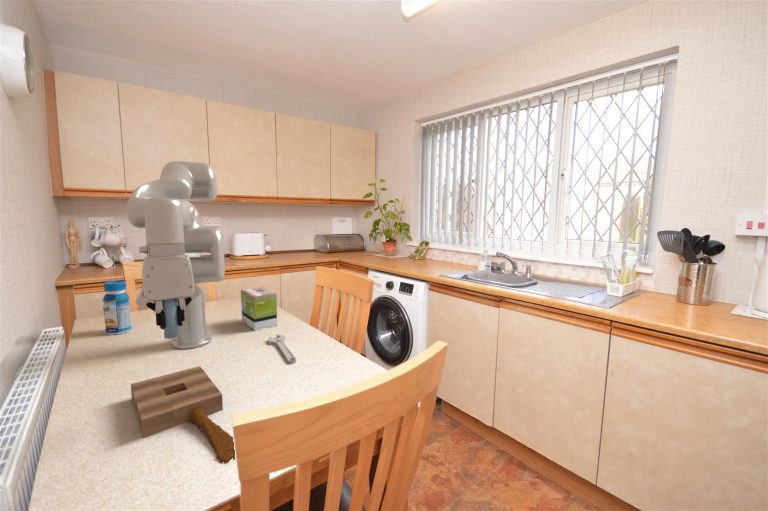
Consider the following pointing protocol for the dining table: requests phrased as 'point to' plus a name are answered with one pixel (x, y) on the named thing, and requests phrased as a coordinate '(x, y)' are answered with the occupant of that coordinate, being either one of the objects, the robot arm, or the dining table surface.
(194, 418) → the primitive tool
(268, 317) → the tea box
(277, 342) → the adjustable wrench
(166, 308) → the peg
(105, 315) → the blue-capped supplement jar
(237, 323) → the dining table surface
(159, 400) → the hole block
